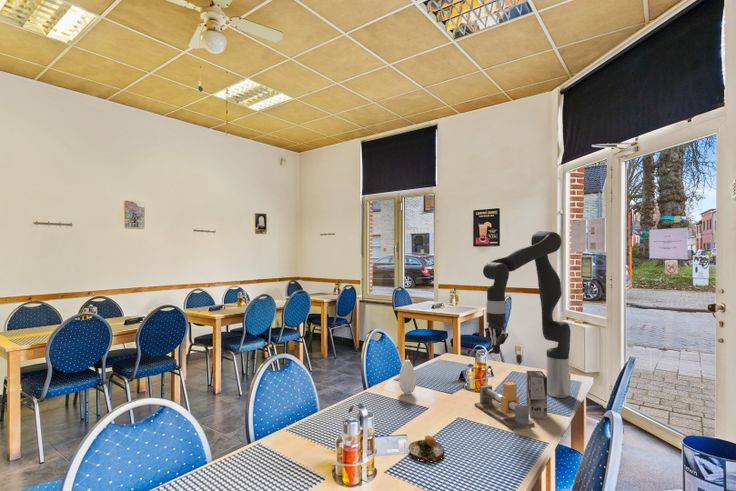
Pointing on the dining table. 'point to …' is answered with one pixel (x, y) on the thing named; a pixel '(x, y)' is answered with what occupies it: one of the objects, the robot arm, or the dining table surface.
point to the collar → (509, 396)
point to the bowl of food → (427, 449)
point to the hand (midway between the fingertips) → (496, 353)
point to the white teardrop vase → (407, 378)
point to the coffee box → (536, 393)
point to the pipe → (520, 410)
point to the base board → (501, 415)
